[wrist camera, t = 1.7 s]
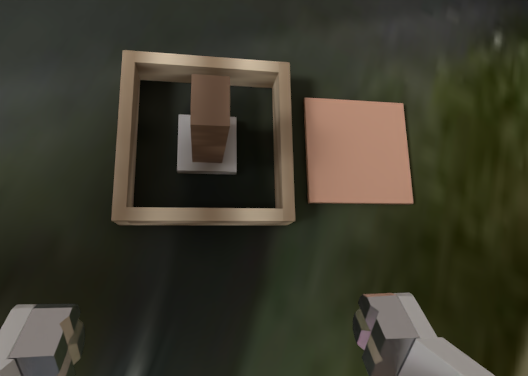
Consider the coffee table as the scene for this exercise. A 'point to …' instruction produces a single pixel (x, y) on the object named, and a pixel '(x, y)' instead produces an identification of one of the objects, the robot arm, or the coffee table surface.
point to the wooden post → (208, 129)
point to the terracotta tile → (356, 152)
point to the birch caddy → (180, 70)
